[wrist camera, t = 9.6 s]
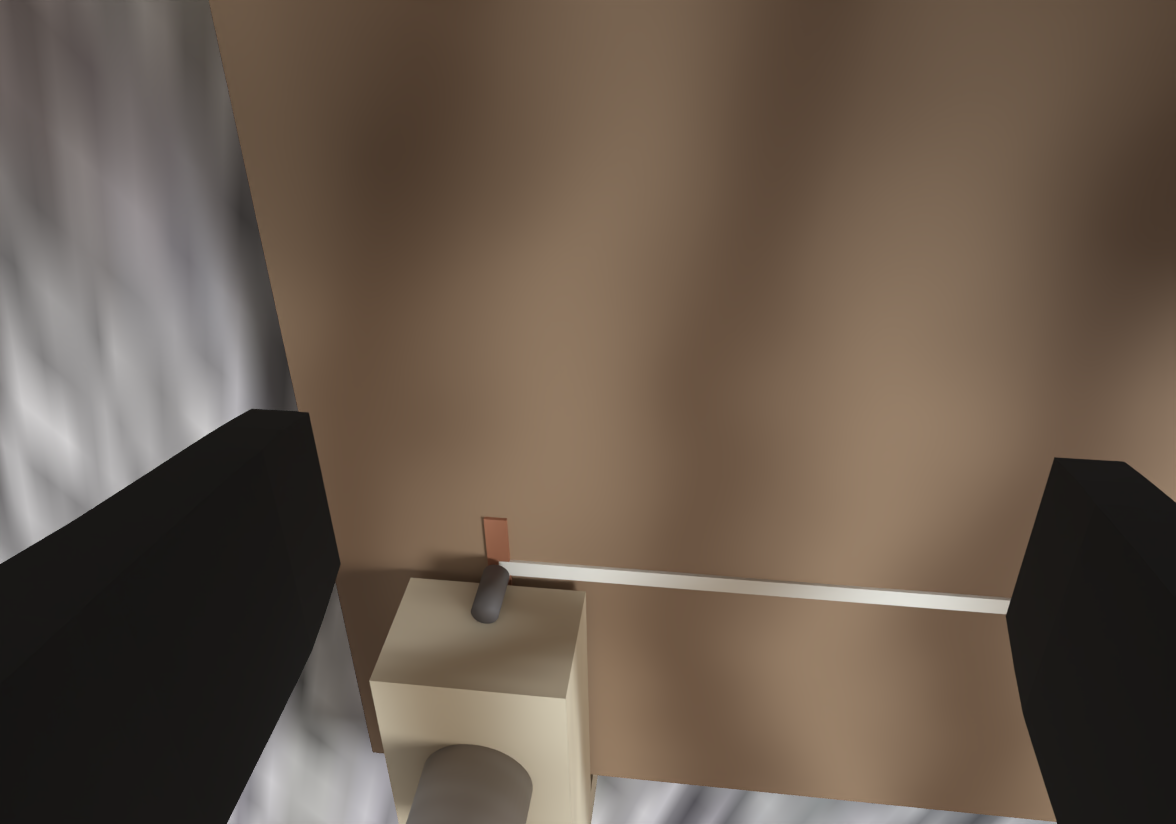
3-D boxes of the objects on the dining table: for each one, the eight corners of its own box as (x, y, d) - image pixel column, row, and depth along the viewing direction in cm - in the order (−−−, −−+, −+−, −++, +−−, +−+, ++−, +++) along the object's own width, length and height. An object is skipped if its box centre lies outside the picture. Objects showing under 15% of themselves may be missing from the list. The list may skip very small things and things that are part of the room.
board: (1370, -79, 15) (1451, -57, 13) (1049, 755, 26) (1071, 826, 24) (248, -78, 17) (193, -59, 15) (394, 693, 28) (371, 754, 26)
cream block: (594, 521, 23) (515, 934, 15) (598, 765, 28) (541, 1171, 20) (427, 509, 23) (264, 903, 15) (461, 751, 28) (351, 1143, 20)
